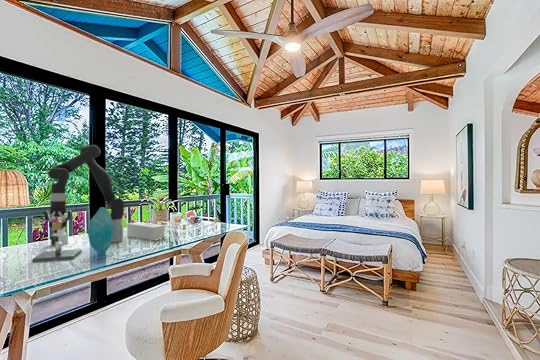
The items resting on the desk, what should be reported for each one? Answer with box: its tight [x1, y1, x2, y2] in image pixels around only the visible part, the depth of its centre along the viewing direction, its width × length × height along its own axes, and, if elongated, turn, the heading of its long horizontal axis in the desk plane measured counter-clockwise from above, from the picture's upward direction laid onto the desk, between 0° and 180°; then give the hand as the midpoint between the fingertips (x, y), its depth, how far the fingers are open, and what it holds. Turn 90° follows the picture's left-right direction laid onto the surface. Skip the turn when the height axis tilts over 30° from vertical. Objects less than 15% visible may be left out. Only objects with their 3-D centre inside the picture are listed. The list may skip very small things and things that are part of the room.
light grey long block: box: [126, 221, 166, 241], centre depth 229 cm, size 32×11×11 cm, turn 62°
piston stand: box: [31, 242, 82, 263], centre depth 172 cm, size 20×16×9 cm
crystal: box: [87, 207, 114, 256], centre depth 179 cm, size 12×14×30 cm
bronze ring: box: [50, 221, 65, 231], centre depth 173 cm, size 6×6×4 cm
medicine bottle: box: [50, 227, 69, 246], centre depth 203 cm, size 7×7×12 cm
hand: (57, 227), depth 173 cm, fingers closed on bronze ring, 6 cm apart
